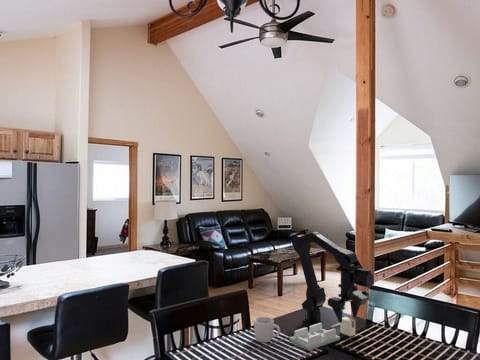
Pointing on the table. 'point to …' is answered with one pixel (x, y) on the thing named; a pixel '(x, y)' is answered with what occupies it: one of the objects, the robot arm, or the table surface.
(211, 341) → the table surface
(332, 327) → the lead
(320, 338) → the board
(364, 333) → the table surface
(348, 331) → the plug
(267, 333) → the cup
